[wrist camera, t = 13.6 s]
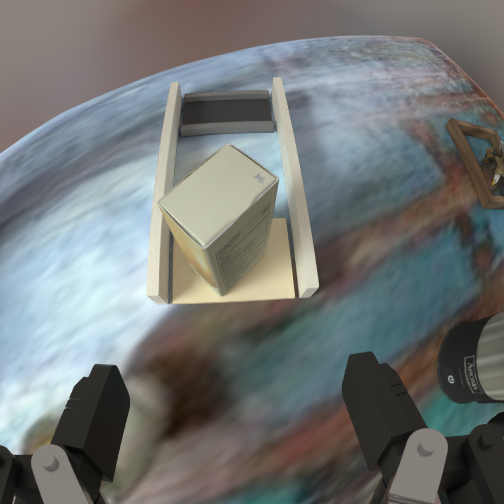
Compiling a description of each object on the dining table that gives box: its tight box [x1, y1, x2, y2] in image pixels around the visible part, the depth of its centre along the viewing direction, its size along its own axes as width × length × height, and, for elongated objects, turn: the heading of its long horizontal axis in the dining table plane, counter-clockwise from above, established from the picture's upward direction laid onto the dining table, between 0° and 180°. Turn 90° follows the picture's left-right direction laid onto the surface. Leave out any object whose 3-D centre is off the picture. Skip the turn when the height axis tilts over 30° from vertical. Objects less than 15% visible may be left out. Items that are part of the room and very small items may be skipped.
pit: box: [180, 90, 274, 137], centre depth 35 cm, size 11×7×1 cm, turn 94°
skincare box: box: [157, 143, 279, 297], centre depth 23 cm, size 6×4×12 cm
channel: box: [147, 77, 319, 305], centre depth 31 cm, size 14×27×4 cm, turn 4°
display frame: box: [446, 118, 504, 209], centre depth 35 cm, size 12×15×2 cm
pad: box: [173, 218, 295, 304], centre depth 29 cm, size 11×8×1 cm
